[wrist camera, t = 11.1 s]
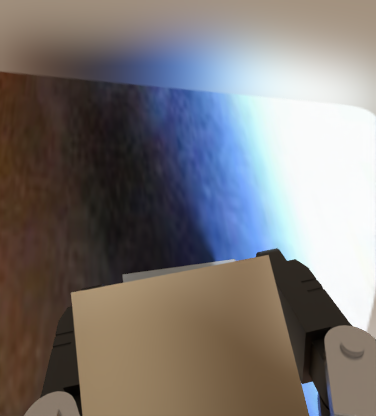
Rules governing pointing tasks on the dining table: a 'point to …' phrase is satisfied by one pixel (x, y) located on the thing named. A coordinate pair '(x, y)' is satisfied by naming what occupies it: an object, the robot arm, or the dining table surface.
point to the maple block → (187, 345)
